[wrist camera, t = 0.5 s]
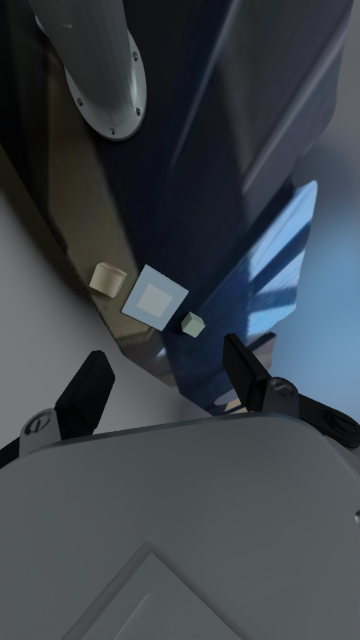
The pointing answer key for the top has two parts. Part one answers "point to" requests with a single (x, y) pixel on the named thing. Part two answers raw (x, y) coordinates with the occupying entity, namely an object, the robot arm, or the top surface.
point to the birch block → (107, 279)
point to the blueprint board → (154, 298)
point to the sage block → (192, 324)
